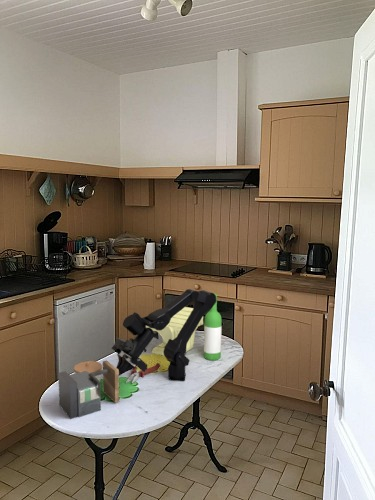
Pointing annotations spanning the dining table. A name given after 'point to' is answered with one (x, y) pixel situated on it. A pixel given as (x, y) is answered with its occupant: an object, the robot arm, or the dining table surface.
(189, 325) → the robot arm
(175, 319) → the slatted curved stool
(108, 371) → the wooden slab
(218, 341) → the wine bottle
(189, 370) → the dining table surface
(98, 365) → the lidded jar
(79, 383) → the grey notched block
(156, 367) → the pliers
